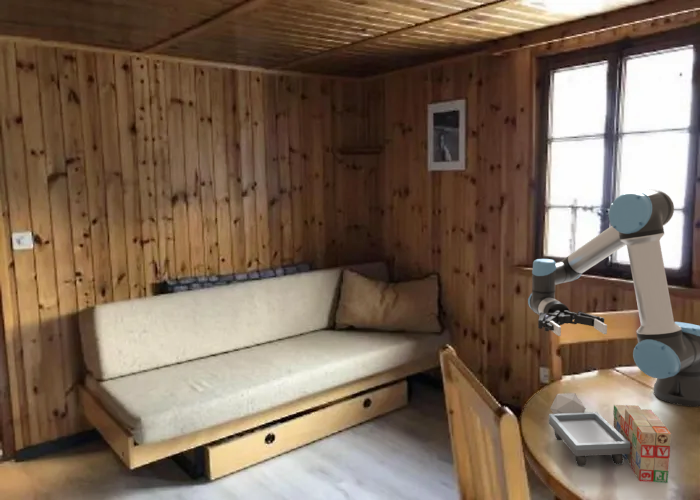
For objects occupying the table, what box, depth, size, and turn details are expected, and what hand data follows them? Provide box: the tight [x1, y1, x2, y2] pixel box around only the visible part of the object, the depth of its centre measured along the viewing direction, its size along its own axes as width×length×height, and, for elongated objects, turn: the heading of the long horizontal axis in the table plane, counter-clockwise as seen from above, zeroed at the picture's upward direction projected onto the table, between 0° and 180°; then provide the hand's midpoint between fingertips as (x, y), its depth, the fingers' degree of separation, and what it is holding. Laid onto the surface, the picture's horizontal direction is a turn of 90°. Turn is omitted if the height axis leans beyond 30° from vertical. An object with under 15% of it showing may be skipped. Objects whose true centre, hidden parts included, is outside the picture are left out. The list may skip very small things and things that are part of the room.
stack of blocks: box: [612, 404, 672, 484], centre depth 136 cm, size 21×6×12 cm, turn 170°
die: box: [549, 392, 587, 414], centre depth 157 cm, size 8×9×10 cm
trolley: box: [548, 411, 630, 467], centre depth 141 cm, size 13×17×6 cm
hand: (582, 330), depth 162 cm, fingers open, 13 cm apart
